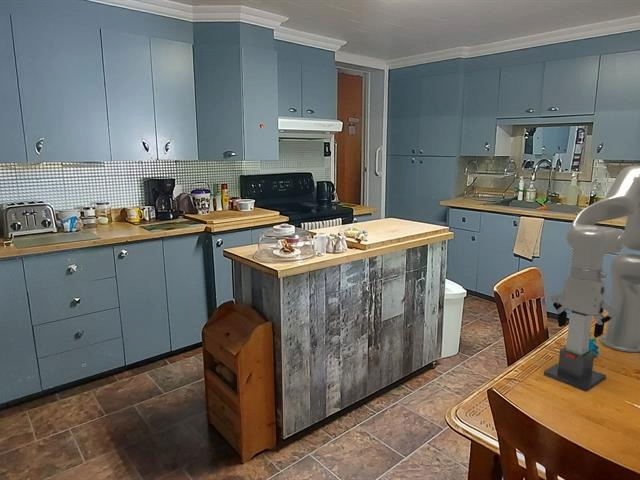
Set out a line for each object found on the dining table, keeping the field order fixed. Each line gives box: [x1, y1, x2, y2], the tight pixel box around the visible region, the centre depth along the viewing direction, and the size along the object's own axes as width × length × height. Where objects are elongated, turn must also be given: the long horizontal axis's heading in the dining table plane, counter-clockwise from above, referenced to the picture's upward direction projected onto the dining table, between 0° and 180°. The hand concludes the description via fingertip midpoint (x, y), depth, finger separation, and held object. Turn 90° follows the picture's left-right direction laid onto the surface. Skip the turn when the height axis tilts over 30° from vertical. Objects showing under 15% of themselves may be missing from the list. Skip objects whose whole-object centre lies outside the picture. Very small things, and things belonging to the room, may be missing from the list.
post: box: [565, 310, 593, 356], centre depth 127 cm, size 4×4×14 cm
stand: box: [543, 346, 607, 393], centre depth 129 cm, size 12×12×8 cm
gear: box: [589, 333, 600, 358], centre depth 146 cm, size 11×6×10 cm
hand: (579, 331), depth 127 cm, fingers open, 9 cm apart
